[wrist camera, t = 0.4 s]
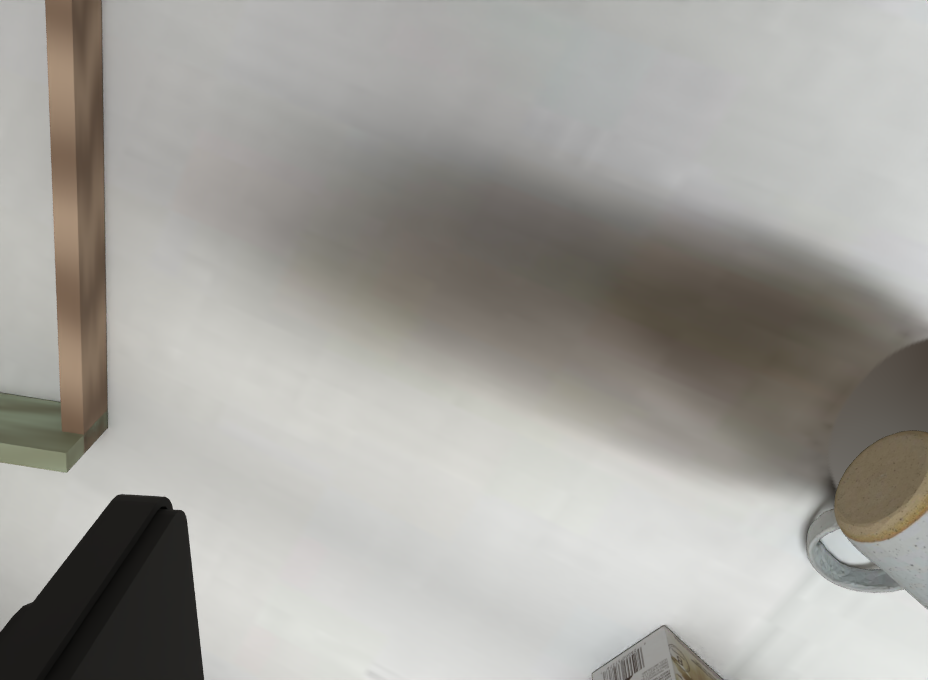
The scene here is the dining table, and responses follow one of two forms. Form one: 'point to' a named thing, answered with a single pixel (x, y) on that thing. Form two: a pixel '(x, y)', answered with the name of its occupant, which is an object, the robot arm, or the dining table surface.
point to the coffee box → (657, 661)
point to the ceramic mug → (881, 518)
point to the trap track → (71, 252)
